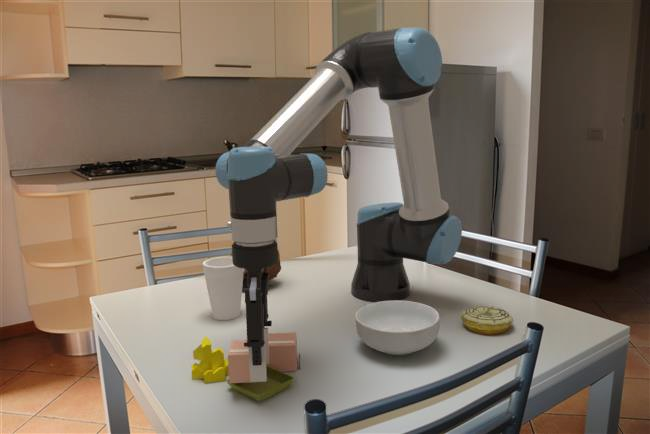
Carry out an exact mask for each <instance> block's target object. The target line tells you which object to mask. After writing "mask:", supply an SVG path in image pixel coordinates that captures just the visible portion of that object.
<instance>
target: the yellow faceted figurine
mask: <svg viewBox="0 0 650 434" xmlns="http://www.w3.org/2000/svg"><path fill="white" fill-rule="evenodd" d="M192 351H193V352H192V353H193V355H192V356H193V357H192V358H193V360H196V361H200V362H199V363H196V362H195V363H193V364H191V379H192V380H197V379H203V380H204V381H203V382H204V384H210V383H218V382H224V381H226V382H227V377H226V376H229V368H228V356H227V357H226V358H225V353H224V352H225V351H224V350H223V349H222V348H221V347H217V348H216V349H214V350H212V341H211V340H210V338H208V337H207V335H206V336H204V338H203V339H202V340H201V344H200V345H198V346H197V347H196V348H195V349H193V350H192Z"/></svg>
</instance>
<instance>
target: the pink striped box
mask: <svg viewBox="0 0 650 434" xmlns="http://www.w3.org/2000/svg"><path fill="white" fill-rule="evenodd" d="M268 341H269V364H266V365H268V366H270V367H273V368H275V369H277V370H279V371H281V372H297V368H298V370H300V369H301V353H300V352H299V353H298V348H297V347H298V346H297V344H298V342H297V332H279V333H278V332H275V333H273V332H272V333H269V332H268ZM297 364H298V366H297Z"/></svg>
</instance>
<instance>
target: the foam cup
mask: <svg viewBox="0 0 650 434" xmlns="http://www.w3.org/2000/svg"><path fill="white" fill-rule="evenodd" d="M202 270H203V271H202V272H203V275H204V278H205V282H206V284H205V285H206V288H207V295H208V299H209V303H210V307H211V313H212V314H211V315H212V318H213V319H215V320H218V321H229V320H234V319H237V318H239V317H240V315H241V310H242V309H241V308H242V297H243V296H242V295H243V273H244V268H238V267H236V266H234V264H233V261H232V257H230V256H218V257H217V256H216V257H211V258H209V259H206V260H204V261H203V262H202Z"/></svg>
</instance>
